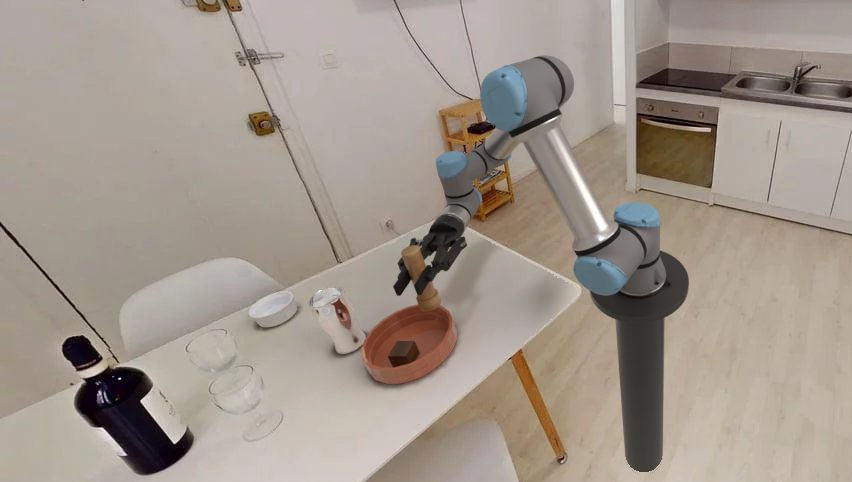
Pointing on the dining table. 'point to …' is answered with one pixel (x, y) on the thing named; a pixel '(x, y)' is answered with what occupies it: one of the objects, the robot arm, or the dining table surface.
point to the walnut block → (403, 353)
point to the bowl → (409, 324)
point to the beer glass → (337, 318)
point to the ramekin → (274, 309)
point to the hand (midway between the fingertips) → (407, 290)
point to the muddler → (415, 268)
